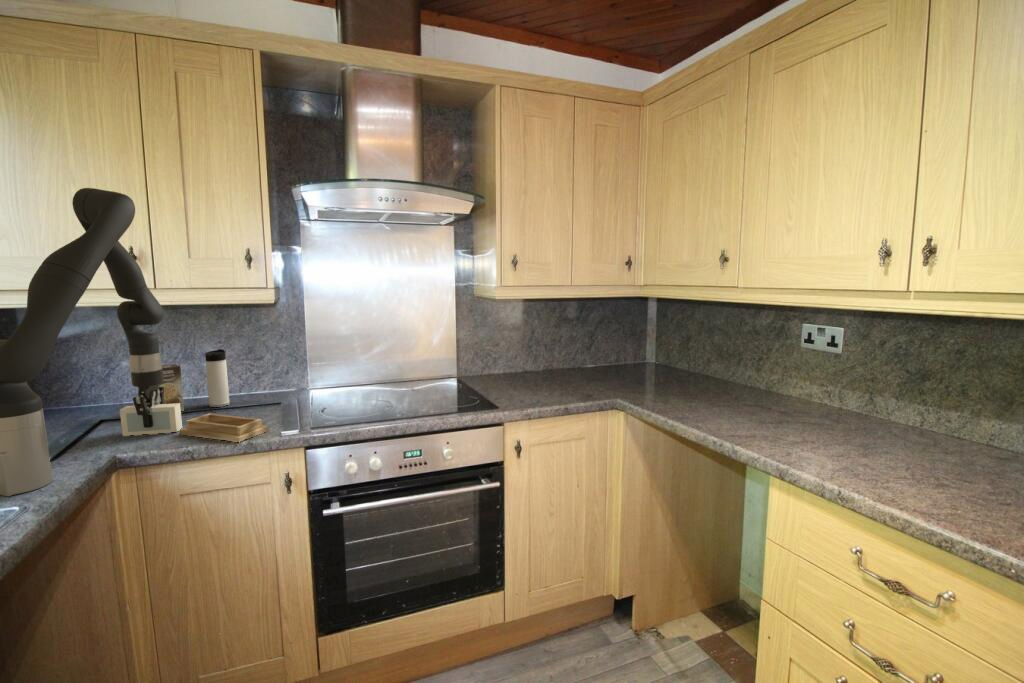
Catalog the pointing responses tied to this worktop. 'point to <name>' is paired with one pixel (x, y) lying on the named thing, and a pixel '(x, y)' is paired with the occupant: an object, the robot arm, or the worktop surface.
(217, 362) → the travel mug
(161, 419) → the cream rectangular block
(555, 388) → the worktop surface
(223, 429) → the wooden tray
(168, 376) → the coffee box
